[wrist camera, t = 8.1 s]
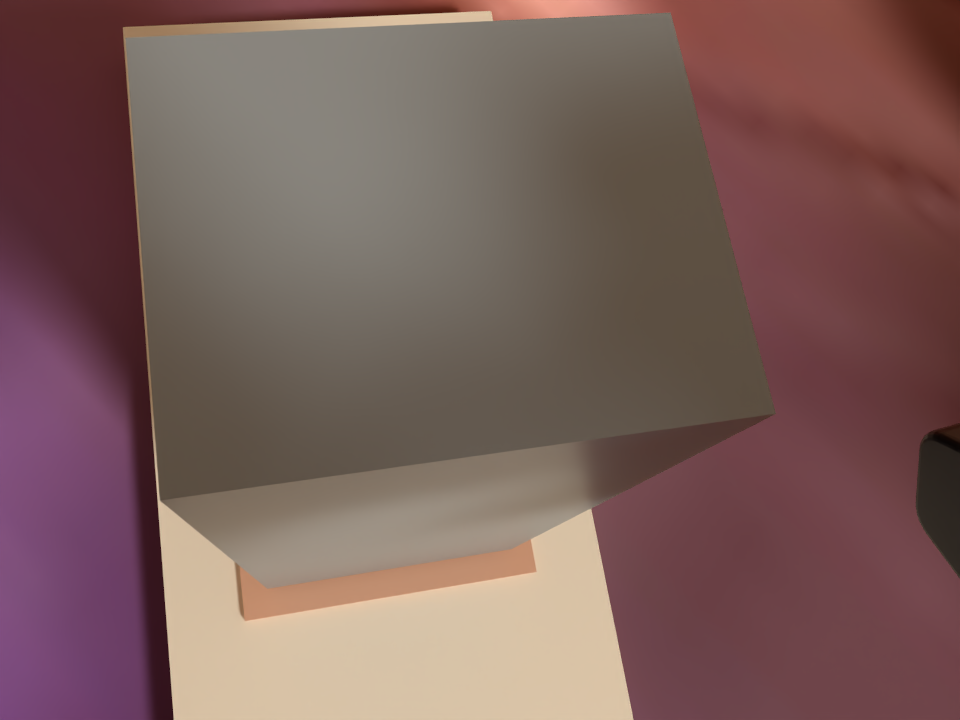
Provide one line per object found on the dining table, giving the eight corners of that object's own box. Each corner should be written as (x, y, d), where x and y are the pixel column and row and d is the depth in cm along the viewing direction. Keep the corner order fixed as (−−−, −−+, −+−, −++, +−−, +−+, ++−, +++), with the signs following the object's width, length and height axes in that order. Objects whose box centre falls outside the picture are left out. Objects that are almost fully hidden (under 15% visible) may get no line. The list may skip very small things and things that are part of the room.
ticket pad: (648, 879, 19) (672, 896, 18) (204, 986, 17) (193, 1015, 16) (483, 40, 25) (492, 5, 23) (132, 57, 23) (121, 21, 21)
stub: (511, 549, 19) (775, 414, 8) (267, 588, 18) (160, 500, 7) (479, 366, 20) (669, 13, 9) (247, 395, 19) (124, 37, 8)
